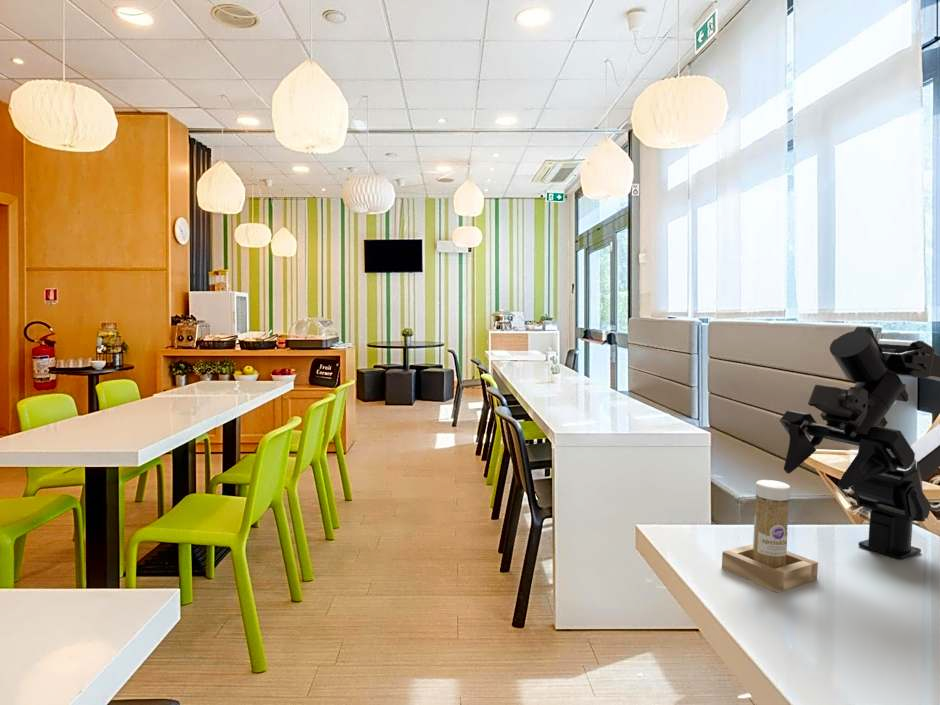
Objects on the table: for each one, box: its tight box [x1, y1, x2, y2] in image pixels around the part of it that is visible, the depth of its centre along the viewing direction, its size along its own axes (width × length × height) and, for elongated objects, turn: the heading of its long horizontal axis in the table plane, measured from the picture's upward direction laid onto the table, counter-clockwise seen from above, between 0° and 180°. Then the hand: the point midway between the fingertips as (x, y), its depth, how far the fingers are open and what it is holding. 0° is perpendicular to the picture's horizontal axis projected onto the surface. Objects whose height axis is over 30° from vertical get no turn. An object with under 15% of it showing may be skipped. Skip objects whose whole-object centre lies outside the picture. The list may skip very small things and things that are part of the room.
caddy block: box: [721, 543, 819, 593], centre depth 92 cm, size 9×9×2 cm
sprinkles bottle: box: [752, 479, 792, 569], centre depth 91 cm, size 5×5×13 cm
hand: (811, 479), depth 94 cm, fingers open, 9 cm apart
